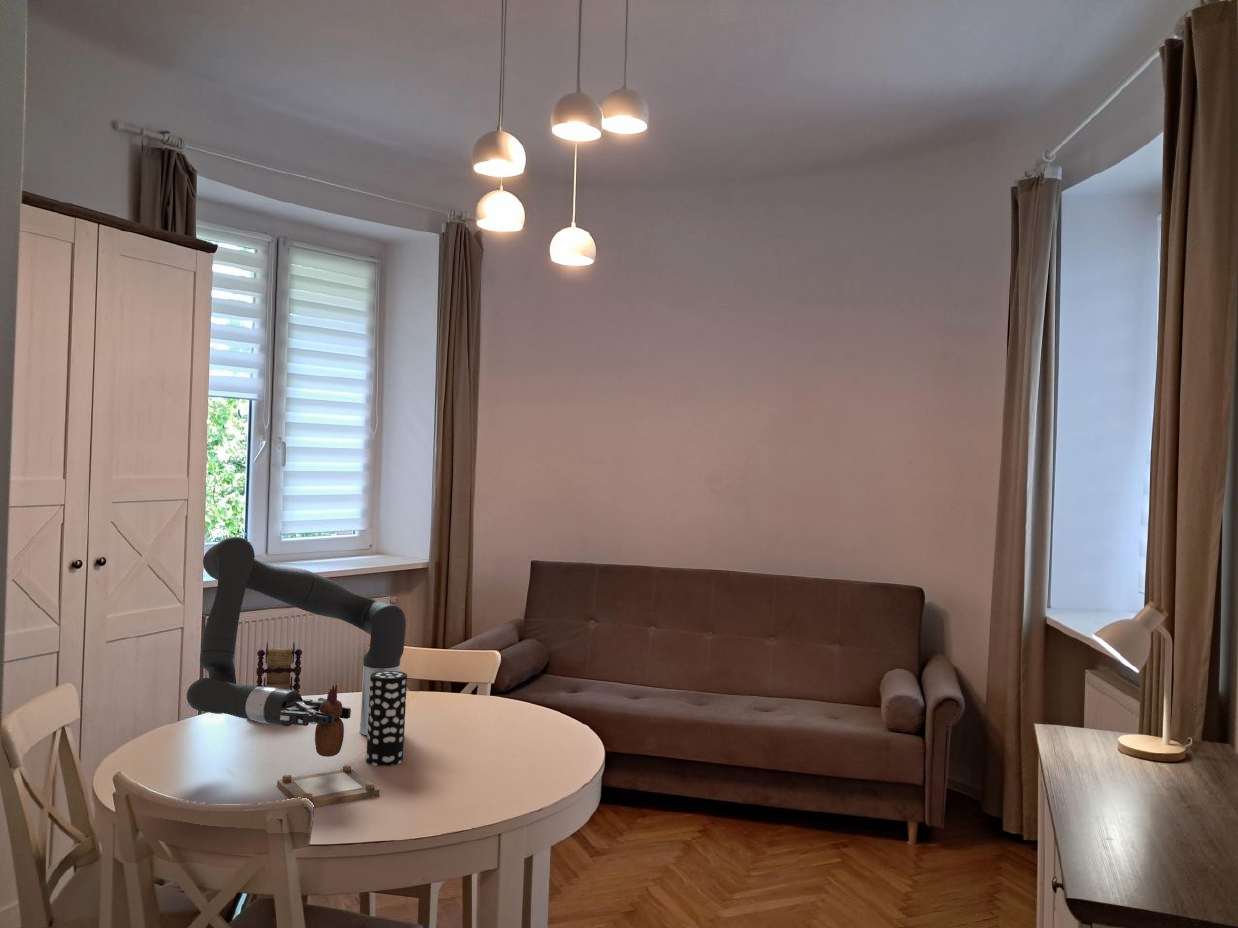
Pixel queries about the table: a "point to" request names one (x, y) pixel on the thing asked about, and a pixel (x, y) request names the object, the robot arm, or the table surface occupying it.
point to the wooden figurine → (330, 727)
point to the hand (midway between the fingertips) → (341, 716)
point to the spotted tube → (386, 718)
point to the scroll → (279, 668)
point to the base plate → (328, 787)
